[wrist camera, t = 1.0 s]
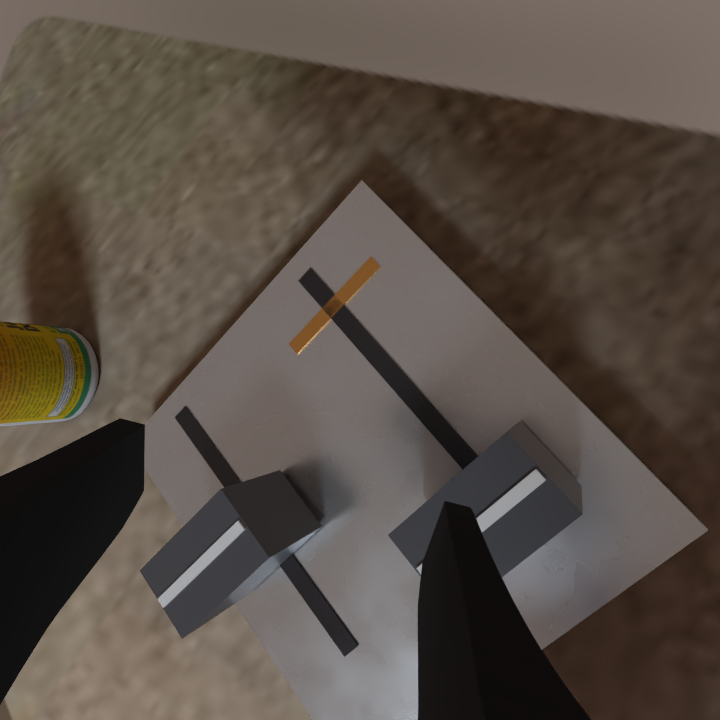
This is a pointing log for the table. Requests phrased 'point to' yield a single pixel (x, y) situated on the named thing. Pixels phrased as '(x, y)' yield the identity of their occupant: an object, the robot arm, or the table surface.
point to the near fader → (502, 501)
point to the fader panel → (392, 456)
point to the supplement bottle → (44, 374)
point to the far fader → (228, 549)
